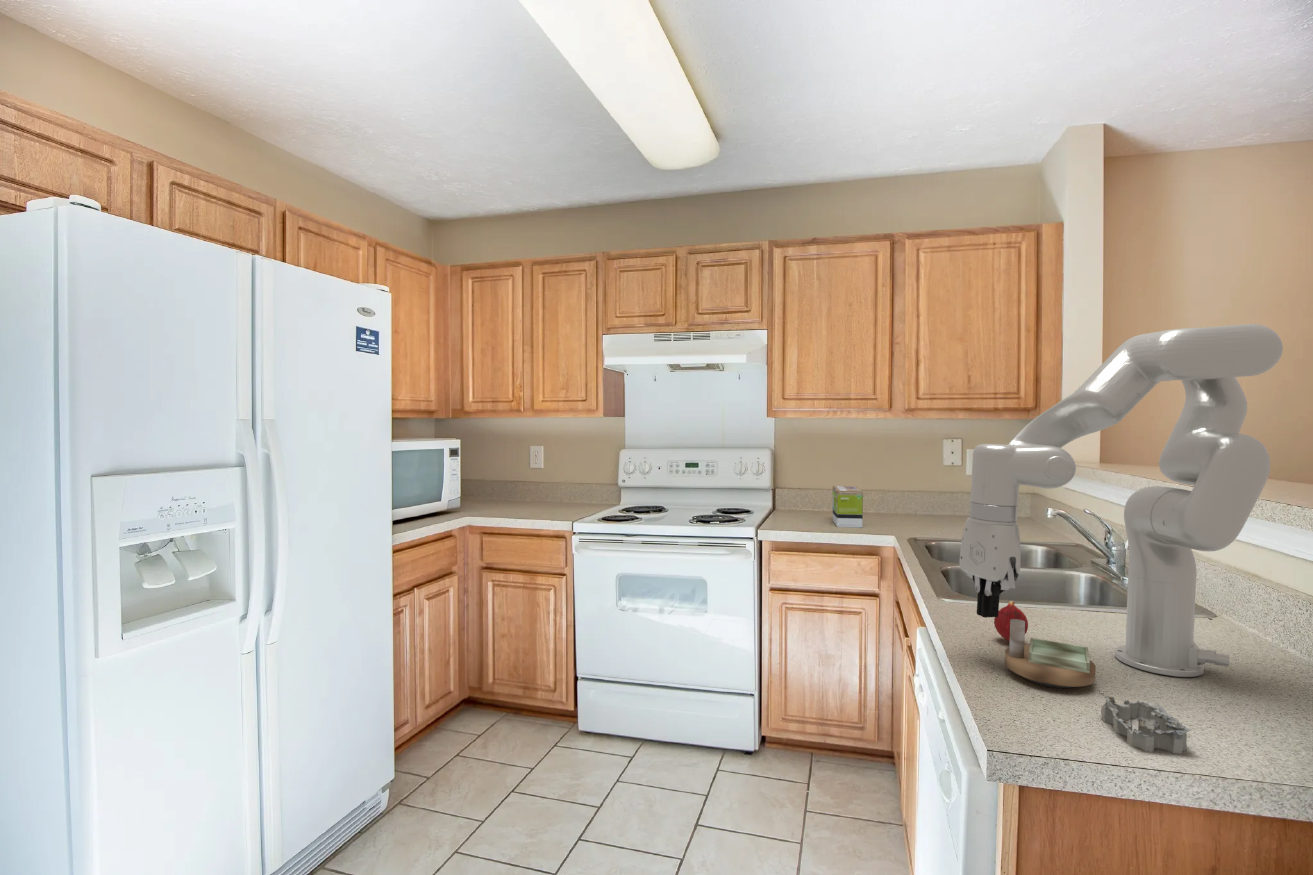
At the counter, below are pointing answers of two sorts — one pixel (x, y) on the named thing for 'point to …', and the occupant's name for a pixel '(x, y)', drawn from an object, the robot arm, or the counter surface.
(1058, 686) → the turntable base
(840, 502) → the tea box
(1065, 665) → the disc
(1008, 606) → the onion
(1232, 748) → the counter surface
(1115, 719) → the egg carton
